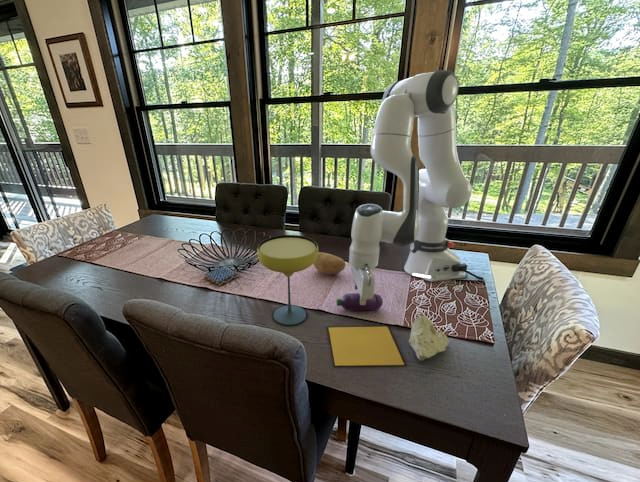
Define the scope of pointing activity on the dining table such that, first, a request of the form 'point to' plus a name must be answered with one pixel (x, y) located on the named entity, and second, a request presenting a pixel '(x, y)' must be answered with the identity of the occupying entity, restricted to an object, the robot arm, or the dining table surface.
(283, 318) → the cocktail glass
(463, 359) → the dining table surface
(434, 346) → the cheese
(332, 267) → the potato
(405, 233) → the robot arm
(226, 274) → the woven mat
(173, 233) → the dining table surface
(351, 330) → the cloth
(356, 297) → the eggplant
